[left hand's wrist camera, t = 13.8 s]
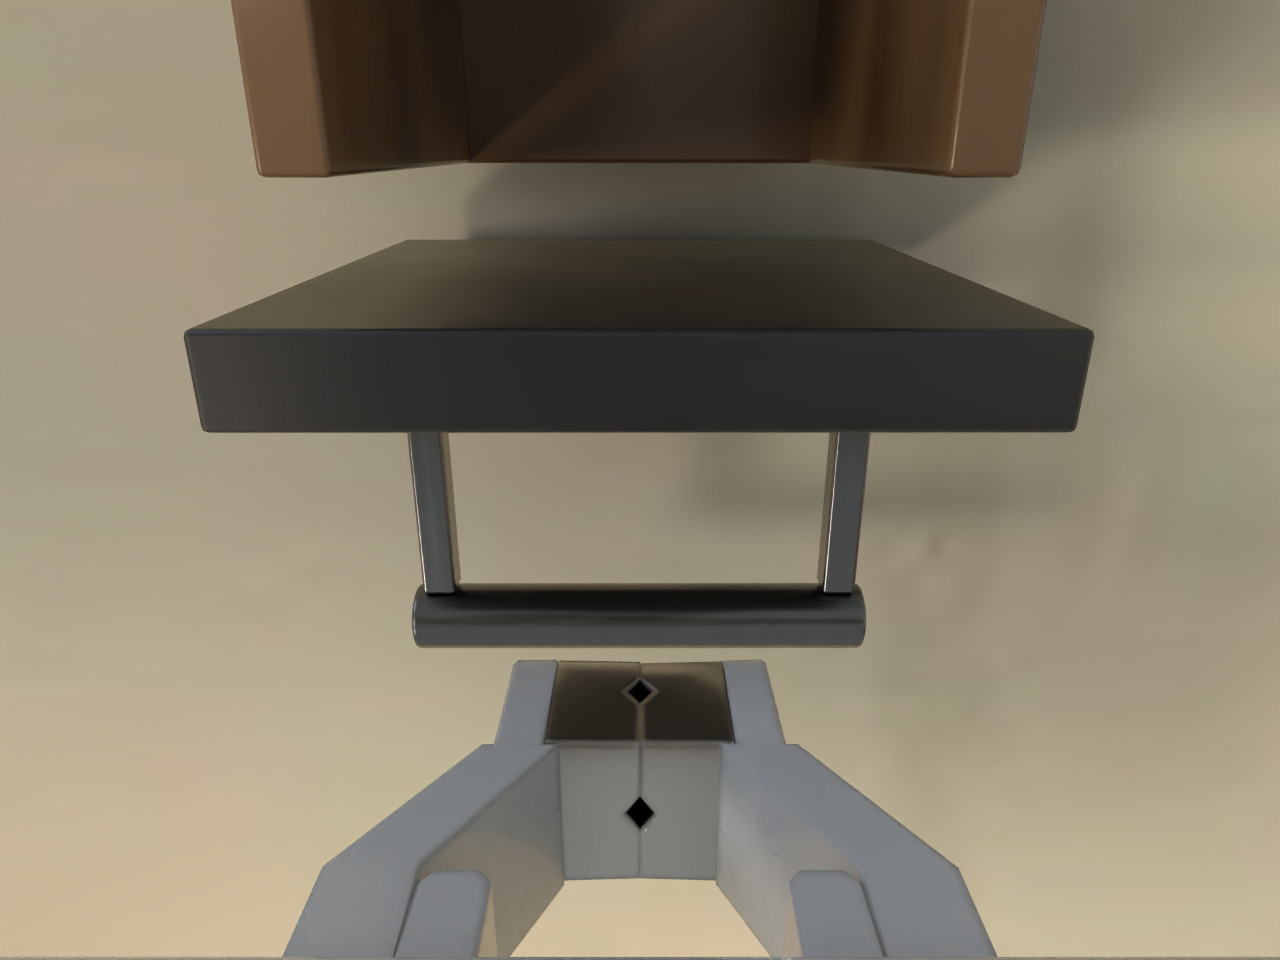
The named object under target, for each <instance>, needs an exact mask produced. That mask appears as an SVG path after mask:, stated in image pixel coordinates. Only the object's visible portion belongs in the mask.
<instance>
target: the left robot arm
mask: <svg viewBox="0 0 1280 960" xmlns="http://www.w3.org/2000/svg"><path fill="white" fill-rule="evenodd" d="M627 878H651V879H687V880H716V885H717V886H718V887H719V889H720V890H721V891H722V893H723V894H724V895H725V897H726V898H727V899H728V901H729V902H730V903H731V905H732V906H733V907H734V908H735V910H736V911H737V912H738V914H739V915H740V916H741V918H742V919H743V920H744V922H745V923H746V924H747V926H748V927H749V928H750V930H751V931H752V932H753V934H754V935H755V936H756V938H757V939H758V940H759V942H760V943H761V944H762V946H763V947H764V948H765V950H766V951H767V952H768V954H769V955H770V956H771V957H510V955H511V954H512V953H513V952H514V950H515V949H516V948H517V946H518V945H519V944H520V942H521V941H522V940H523V938H524V937H525V936H526V934H527V933H528V932H529V930H530V929H531V928H532V926H533V925H534V924H535V922H536V921H537V920H538V919H539V917H540V916H541V915H542V913H543V912H544V911H545V909H546V908H547V907H548V905H549V904H550V903H551V901H552V900H553V899H554V897H555V896H556V895H557V893H558V892H559V891H560V889H561V888H562V887H563V886H564V880H592V879H627ZM0 960H1280V957H997V954H996V952H995V950H994V948H993V945H992V943H991V941H990V938H989V936H988V934H987V932H986V929H985V927H984V925H983V923H982V920H981V918H980V916H979V914H978V911H977V909H976V907H975V904H974V902H973V900H972V898H971V895H970V893H969V891H968V889H967V886H966V884H965V882H964V880H963V877H962V875H961V873H960V870H959V868H958V867H957V866H955V865H954V864H953V863H951V862H950V861H949V860H947V859H946V858H945V857H944V856H942V855H941V854H940V853H938V852H937V851H936V850H934V849H933V848H932V847H931V846H929V845H928V844H927V843H925V842H924V841H923V840H921V839H920V838H919V837H918V836H916V835H915V834H914V833H912V832H911V831H910V830H909V829H907V828H906V827H905V826H903V825H902V824H901V823H899V822H898V821H897V820H896V819H894V818H893V817H892V816H890V815H889V814H888V813H886V812H885V811H884V810H883V809H881V808H880V807H879V806H877V805H876V804H875V803H873V802H872V801H871V800H870V799H868V798H867V797H866V796H864V795H863V794H862V793H861V792H859V791H858V790H857V789H855V788H854V787H853V786H851V785H850V784H849V783H848V782H846V781H845V780H844V779H842V778H841V777H840V776H838V775H837V774H836V773H835V772H833V771H832V770H831V769H829V768H828V767H827V766H825V765H824V764H823V763H822V762H820V761H819V760H818V759H816V758H815V757H814V756H813V755H811V754H810V753H809V752H807V751H806V750H805V749H803V748H802V747H801V746H800V745H798V744H786V742H785V738H784V734H783V730H782V726H781V722H780V718H779V714H778V710H777V706H776V702H775V698H774V694H773V690H772V686H771V682H770V678H769V674H768V670H767V666H766V663H765V662H764V661H762V660H738V661H722V662H680V663H640V662H610V661H561V660H560V661H559V662H557V661H556V660H518V661H517V662H516V663H515V665H514V666H513V669H512V673H511V677H510V681H509V685H508V689H507V693H506V698H505V702H504V706H503V710H502V714H501V718H500V722H499V726H498V730H497V734H496V738H495V742H494V744H482V745H481V746H479V747H478V748H477V749H475V750H474V751H473V752H471V753H470V754H469V755H467V756H466V757H465V758H464V759H462V760H461V761H460V762H458V763H457V764H456V765H454V766H453V767H452V768H451V769H449V770H448V771H447V772H445V773H444V774H443V775H441V776H440V777H439V778H437V779H436V780H435V781H434V782H432V783H431V784H430V785H428V786H427V787H426V788H424V789H423V790H422V791H421V792H419V793H418V794H417V795H415V796H414V797H413V798H411V799H410V800H409V801H408V802H406V803H405V804H404V805H402V806H401V807H400V808H398V809H397V810H396V811H394V812H393V813H392V814H391V815H389V816H388V817H387V818H385V819H384V820H383V821H381V822H380V823H379V824H378V825H376V826H375V827H374V828H372V829H371V830H370V831H368V832H367V833H366V834H364V835H363V836H362V837H361V838H359V839H358V840H357V841H355V842H354V843H353V844H351V845H350V846H349V847H348V848H346V849H345V850H344V851H342V852H341V853H340V854H338V855H337V856H336V857H335V858H333V859H332V860H331V861H329V862H328V863H327V864H325V865H324V866H323V867H322V869H321V871H320V874H319V876H318V878H317V880H316V883H315V885H314V887H313V889H312V892H311V894H310V896H309V898H308V901H307V903H306V905H305V907H304V909H303V912H302V914H301V916H300V918H299V921H298V923H297V925H296V927H295V930H294V932H293V934H292V936H291V939H290V941H289V943H288V945H287V947H286V950H285V952H284V954H283V956H282V957H0Z"/></svg>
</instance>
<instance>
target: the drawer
mask: <svg viewBox="0 0 1280 960" xmlns="http://www.w3.org/2000/svg"><path fill="white" fill-rule="evenodd" d="M231 3H232V10H233V16H234V23H235V29H236V36H237V42H238V49H239V55H240V62H241V68H242V75H243V81H244V88H245V94H246V101H247V107H248V114H249V120H250V127H251V133H252V140H253V146H254V153H255V159H256V166H257V171H258V173H259V175H261V176H263V177H335V176H345V175H354V174H364V173H374V172H383V171H393V170H403V169H413V168H422V167H432V166H442V165H452V164H461V163H817V164H826V165H836V166H846V167H856V168H866V169H875V170H885V171H895V172H905V173H915V174H924V175H934V176H944V177H1012V176H1014V175H1017V174H1018V172H1019V170H1020V167H1021V160H1022V154H1023V147H1024V141H1025V134H1026V128H1027V121H1028V115H1029V108H1030V102H1031V95H1032V89H1033V82H1034V76H1035V69H1036V63H1037V56H1038V50H1039V43H1040V37H1041V30H1042V24H1043V17H1044V11H1045V4H1046V0H231ZM1093 340H1094V334H1093V331H1092V330H1090V329H1087V328H1085V327H1083V326H1080V325H1078V324H1075V323H1073V322H1070V321H1068V320H1065V319H1063V318H1061V317H1058V316H1056V315H1053V314H1051V313H1048V312H1046V311H1043V310H1041V309H1038V308H1036V307H1034V306H1031V305H1029V304H1026V303H1024V302H1021V301H1019V300H1016V299H1014V298H1011V297H1009V296H1007V295H1004V294H1002V293H999V292H997V291H994V290H992V289H989V288H987V287H985V286H982V285H980V284H977V283H975V282H972V281H970V280H967V279H965V278H962V277H960V276H958V275H955V274H953V273H950V272H948V271H945V270H943V269H940V268H938V267H936V266H933V265H931V264H928V263H926V262H923V261H921V260H918V259H916V258H913V257H911V256H909V255H906V254H904V253H901V252H899V251H896V250H894V249H891V248H889V247H886V246H884V245H882V244H879V243H877V242H874V241H872V240H406V241H403V242H401V243H398V244H396V245H393V246H391V247H389V248H386V249H384V250H381V251H379V252H376V253H374V254H371V255H369V256H367V257H364V258H362V259H359V260H357V261H354V262H352V263H349V264H347V265H345V266H342V267H340V268H337V269H335V270H332V271H330V272H327V273H325V274H323V275H320V276H318V277H315V278H313V279H310V280H308V281H305V282H303V283H301V284H298V285H296V286H293V287H291V288H288V289H286V290H283V291H281V292H279V293H276V294H274V295H271V296H269V297H266V298H264V299H261V300H259V301H257V302H254V303H252V304H249V305H247V306H244V307H242V308H239V309H237V310H235V311H232V312H230V313H227V314H225V315H222V316H220V317H217V318H215V319H213V320H210V321H208V322H205V323H203V324H200V325H198V326H195V327H193V328H191V329H188V330H186V331H185V333H184V341H185V346H186V351H187V356H188V361H189V366H190V371H191V376H192V381H193V386H194V391H195V397H196V402H197V407H198V412H199V417H200V422H201V427H202V429H203V430H204V431H206V432H210V433H407V434H408V444H409V454H410V463H411V473H412V482H413V492H414V501H415V511H416V521H417V530H418V540H419V549H420V559H421V568H422V578H423V584H422V585H420V586H419V587H418V589H417V591H416V594H415V598H414V602H413V610H412V630H413V636H414V640H415V643H416V645H417V646H418V647H420V648H857V647H859V646H861V645H862V643H863V640H864V636H865V630H866V609H865V602H864V597H863V594H862V591H861V589H860V587H859V586H858V585H857V584H855V578H856V568H857V558H858V549H859V539H860V530H861V520H862V510H863V501H864V491H865V482H866V472H867V462H868V453H869V443H870V434H871V432H1072V431H1074V430H1075V428H1076V426H1077V421H1078V416H1079V411H1080V406H1081V401H1082V396H1083V391H1084V386H1085V381H1086V376H1087V370H1088V365H1089V360H1090V355H1091V350H1092V345H1093ZM739 432H830V436H829V447H828V459H827V470H826V482H825V494H824V505H823V517H822V529H821V540H820V552H819V564H818V575H817V579H818V581H819V583H459V581H460V579H461V575H460V564H459V552H458V540H457V529H456V517H455V506H454V494H453V482H452V471H451V459H450V448H449V436H448V433H739Z"/></svg>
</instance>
